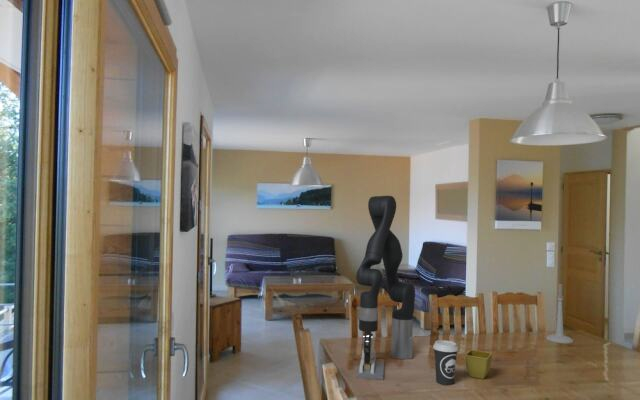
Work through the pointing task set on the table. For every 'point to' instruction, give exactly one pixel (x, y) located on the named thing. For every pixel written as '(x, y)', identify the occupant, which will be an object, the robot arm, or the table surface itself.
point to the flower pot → (478, 363)
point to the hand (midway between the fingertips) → (367, 361)
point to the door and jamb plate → (375, 369)
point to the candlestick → (559, 322)
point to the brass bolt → (367, 365)
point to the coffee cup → (445, 361)
